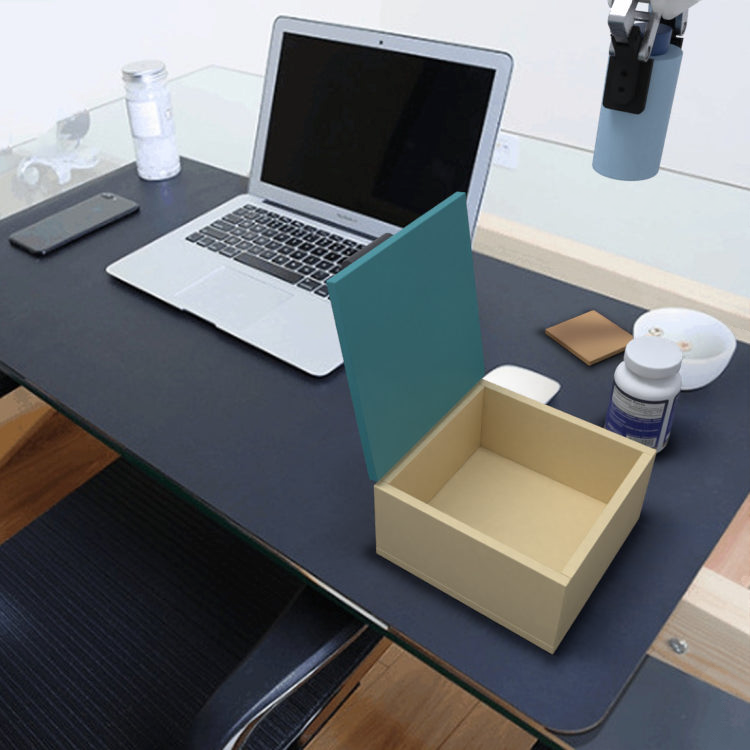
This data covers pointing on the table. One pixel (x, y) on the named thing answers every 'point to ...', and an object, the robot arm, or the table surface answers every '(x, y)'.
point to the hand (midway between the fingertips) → (638, 95)
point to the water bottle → (640, 119)
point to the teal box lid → (409, 330)
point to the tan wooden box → (513, 509)
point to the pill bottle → (646, 391)
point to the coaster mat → (590, 337)
